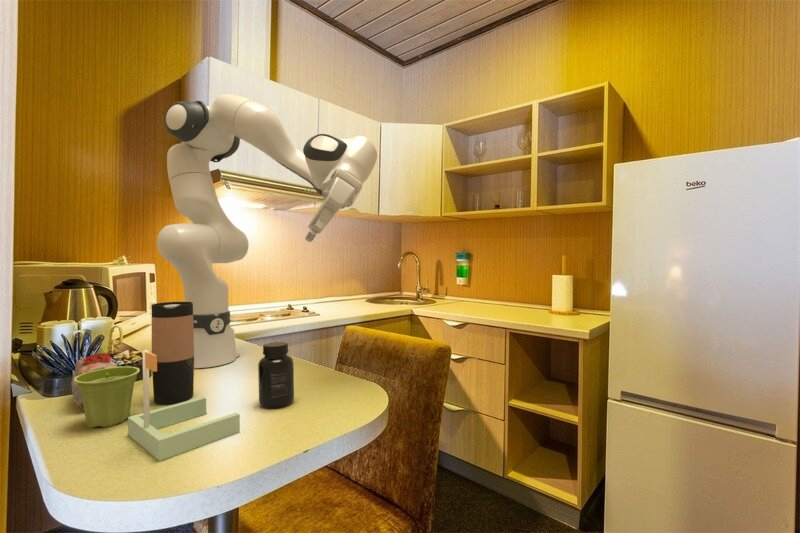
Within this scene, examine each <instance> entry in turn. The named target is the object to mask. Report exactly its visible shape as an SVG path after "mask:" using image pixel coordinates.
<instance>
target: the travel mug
mask: <svg viewBox="0 0 800 533" xmlns="http://www.w3.org/2000/svg"><path fill="white" fill-rule="evenodd" d="M151 353H153V354H155V355H157V371H155V372H154V371H152V370H151V372H152V390H153V391H152V393H153V403H154V404H156V405H158V406H159V405H160V406H167V405H168V406H171V405H175V404H178V403H182V402H186V401H189V400H192V398H193V397H194V388H195V387H194V384H195V383H194V381H195V380H194V379H195V373H194V372H195V368H194V328H193V303H192V302H185V301H168V302H167V301H165V302H156V303H152V304H151Z"/></svg>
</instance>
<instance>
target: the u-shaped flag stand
mask: <svg viewBox="0 0 800 533" xmlns="http://www.w3.org/2000/svg"><path fill="white" fill-rule="evenodd" d="M150 371H151V372H152V371H154V372H155V371H157V355H155V354H153V353H152V352H150V351H149V349H142V389H143V390H142V395H143V396H142V399H143V401H142V403H143V406H142V408H143V412H142V413H139V414H135V415H134V414H133V415H131V416H130V415H129V417H128V418H127V426H128V427H127V435H128V436H129V437H130V438H131V439H132V440H133V441H134V442H136V443H137V444H138V445H140V447H142V448H143V449H144V450H145V451H147V453H149V454H150V455H151V456H152V457H154V458H155V459H156V460H157V461H158V462H162V461H164V460H167V459H169V458H173V457H175V456H177V455H180V454H183V453H185V452H189V451H192V450H193V449H197V448H199V447H202V446H204V445H208V444H210V443H213V442H216V441H218V440H221V439H224V438H227V437H230V436H232V435H235V434H238V433H240V431H241V427H240V426H241V424H240V421H241V420H240V419H241V417H240V416H241V414H240V413H238V412H233V413H230V414H226V415H224V416H221V417H218V418H215V419H212V420H211V419H210V420H208V421H205V422H202V423H198V424H196V425H192V426H189V427H186V428H184V429H180V430H178V431H174V432H171V433H169V434H164V433H162V432H161V431H159V429H163V428H166V427H169V426H172V425H174V424H178V423H181V422H184V421H189V420H190V419H194V418H197V417H201V416H205V415H207V397H204V396H201V397H197V398H193V399H189V400H187V401H184V402H181V403H177V404H171V405H168V406H167V405H166V406H164V407H160V408H157V409H153V410H150V406H151V405H150V404H151V403H150Z"/></svg>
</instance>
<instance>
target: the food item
mask: <svg viewBox="0 0 800 533" xmlns="http://www.w3.org/2000/svg"><path fill="white" fill-rule="evenodd" d="M74 365H75V366H74V367H75V368H74V369H72V379H71V383H70V385H71V393H72V397H73V401H74V402H75V404H76V406H79V409H81V411H82V410H83V411H84V406H83V401H82V396H81V391H80V390H79V388H78V385H77V383H75V382H74V378H75V377H77V376H78V375H81V374H83V373H87V372H90V371H94V370H99V369H105V368H112V367H119V366H118V364H116V362H115V359H114V358H113V357H112V356H111V354H110V353H105V354H104V353H100V352H97V353H95V354H92V355H89V356H86V357H83V356H79V359H78V360H77V361H76V362H75V364H74Z"/></svg>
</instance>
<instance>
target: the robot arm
mask: <svg viewBox="0 0 800 533" xmlns="http://www.w3.org/2000/svg"><path fill="white" fill-rule="evenodd" d="M163 122H164V127H165V130H166V131H167V132H168V133H169V135H171V136H172V137H173V138H175V139H176V140H178V141H179V142H180V143H176V144H174V145H172V146H171V147H170V148H169V149H168V151H167V153H166V167H167V168H166V169H167V176H168V182H169V185H170V190H171V191H170V192H171V194H172V198H173V203H174V206H175V209H176V210H177V211H178V212H179V214H181V215H182V216H184V217H186V218H187V219H188V220H189V221H191V222H190V223H189V222H182V223H174V224H168V225H166V226H164V227H162V229H161V230H160V231H159V233H158V235H157V237H156V238H157V239H156V248H157V251H158V253H159V254H160V256H161V258H163V259H164V260H165V261H167V262H168V263H169V264H170V265H171V266H172V267H173V268H174V269H175V271H176V272H177V273H178V276H179V277H180V280H181V282H182V286H183V294H184V302H192V303H193V328H194V369H205V368H212V367H218V366H222V365H226V364H229V363H232V362H234V361H235V360H236V358H238V357H240V356H241V353H240V351H237V348H236V336H235V330H234V328H232V327H231V325H230V324H231V319H232V318H231V317H232V316H231V311H230V310H229V286H228V283H227V282H226V281H225V280H224V279H222V278H220V277H218V276H217V274H216V273H215V271H214V268H213V264H229V263H233V262H237V261H241V260H243V259H244V258H245V257H246V255H247V254H248V251H249V240H248V237H247V235H246V233H245V232H243V231H242V230H240V229H239V228H238V227H237V226H236V225H235V224H234V223H233V222H232V221H231V220H230V218H228V216H227V214H226V212H225V211H224V210H223V208H222V206H221V204H220V202H219V199H218V196H217V195H218V194H217V193H216V189H215V185H214V181H213V177H212V175H211V174H212V173H211V170H210V162H213V163H220V162H221V161H222V160H223V159H227V158H230V157H231V156H232V155H234V154H235V153H236V152H237V150H238V149H239V147H240V143H241V140H242V141H244V142H246V143H247V144H249V145H251V146H252V147H255V148H256V149H257V150H259V151H261V152H263V153H264V154H265V155H267V156H268V157H270V158H271V159H272V160H274V161H275V162H277V163H278V164H279V165H281V166H283V168H285V169H287V170H289V171H290V172H292V173H293V174H296V176H298V177H300V178H302V179H303V180H305V181H306V182H308V183H309V184H310V185H311V186H312V187H313V189H314V190H315V192H316V193H317V194H319V195H320V196H322V198H323V202H322V203H321V204H320V206H319V208H317V211H316V212H315V214H314V215H313V217H312V219H311V221H309V224H308V226H307V227H308V228H309V230H308V232H307V235H306V236H305V237H304V240H305V241H307V242H309V243H312V242H313V241H314V239H315V237H316V236H317V235H319V234H321V233H322V232H323V231H324V230H325V228H326V227H327V226H328V224H329V223H330V222H331V221H332V220H333V218H334V217H335V216H336V215H337V214H338V212H339V211H340V210H343V209H345V208H350V207H352V206H353V204H354V202H355V201H356V199H357V198H358V196H359V194H360V193H361V191H362V189H363V184H364V183H365V182H366V181H367V180H368V179H369V177H370V176H371V173H372V172H373V170H374V167H375V165H376V163H377V160H378V151H377V148H376V146H375V145H374V143H373V142H372V141H371V140H370V139H369V138H368V137H366V136H363V135H355V136H352V137H347V138H343V137H335V136H333V135H330V134H327V133H319V134H315V135H313V136H311V137H310V138H309V139H308V140H307V141H306V142H305V144H304V145H303V149H302V151H301V150H300V149H298V147H296V145H295V144H294V143H293V141H292V140H291V138H290V137H289V135H288V133H287V132H286V129H285V128H284V125H283V123H282V122H281V120H280V119H279V117H278V115H277V114H276V113H274V112H273V111H272V110H271V109H270V108H269V107H267V106H265V105H263V103H260V102H258V101H255V100H252V99H251V98H248V97H245V96H242V95H237V94H233V93H222V94H220V95H219V96H216V98H215V100H214V101H213V103H212V104H211V105H206V103H204V102H203V101H202V100H195V101H189V100H188V101H187V100H181V101H176V102H175V103H173V104H171V105H170V106H169V107H167V109H166V111H165V114H164V119H163Z"/></svg>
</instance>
